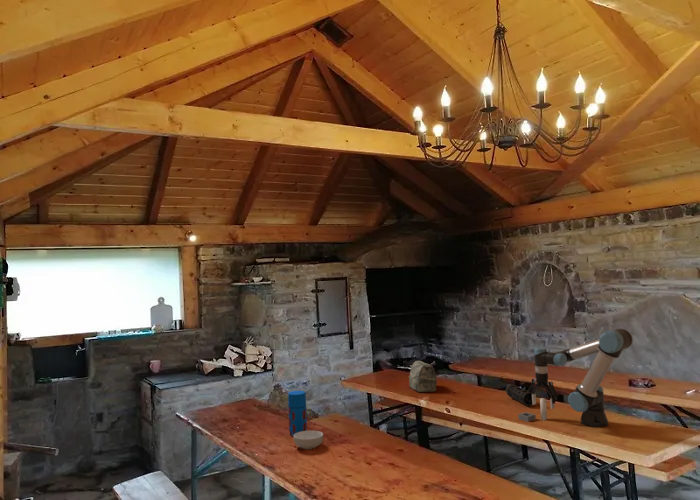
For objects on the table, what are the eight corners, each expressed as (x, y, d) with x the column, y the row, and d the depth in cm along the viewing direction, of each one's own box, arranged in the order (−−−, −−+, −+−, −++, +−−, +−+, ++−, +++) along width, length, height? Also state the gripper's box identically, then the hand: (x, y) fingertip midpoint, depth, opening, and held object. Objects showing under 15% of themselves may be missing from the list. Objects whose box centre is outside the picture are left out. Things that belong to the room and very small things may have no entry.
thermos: (304, 430, 322) (302, 389, 323) (309, 434, 312) (307, 393, 313) (287, 432, 318) (286, 392, 319) (291, 437, 308) (290, 395, 309)
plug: (548, 419, 323) (547, 398, 324) (544, 420, 321) (543, 399, 322) (543, 418, 326) (542, 397, 327) (539, 419, 324) (538, 398, 325)
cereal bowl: (329, 446, 290) (329, 433, 290) (306, 454, 278) (306, 441, 279) (310, 440, 302) (310, 427, 302) (287, 447, 291) (287, 435, 291)
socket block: (535, 419, 325) (535, 414, 325) (528, 421, 321) (527, 416, 321) (526, 416, 331) (525, 412, 331) (518, 419, 327) (518, 414, 327)
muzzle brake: (523, 408, 351) (522, 392, 352) (505, 398, 379) (504, 384, 379) (536, 407, 353) (535, 391, 353) (517, 397, 380) (516, 383, 381)
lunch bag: (439, 392, 405) (438, 364, 406) (417, 393, 402) (416, 365, 403) (428, 384, 431) (427, 358, 432) (408, 386, 427) (406, 360, 428)
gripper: (521, 370, 333) (523, 403, 333) (555, 376, 312) (556, 411, 312) (529, 368, 337) (530, 401, 337) (562, 374, 316) (564, 409, 316)
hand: (543, 406), depth 324 cm, fingers open, 13 cm apart
